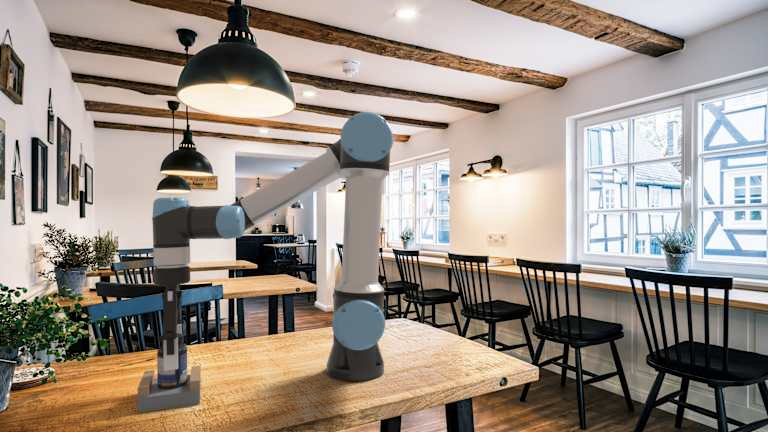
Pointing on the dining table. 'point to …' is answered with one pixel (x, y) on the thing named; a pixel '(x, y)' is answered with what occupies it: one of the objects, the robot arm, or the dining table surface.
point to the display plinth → (168, 392)
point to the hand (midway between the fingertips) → (173, 360)
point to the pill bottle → (175, 376)
